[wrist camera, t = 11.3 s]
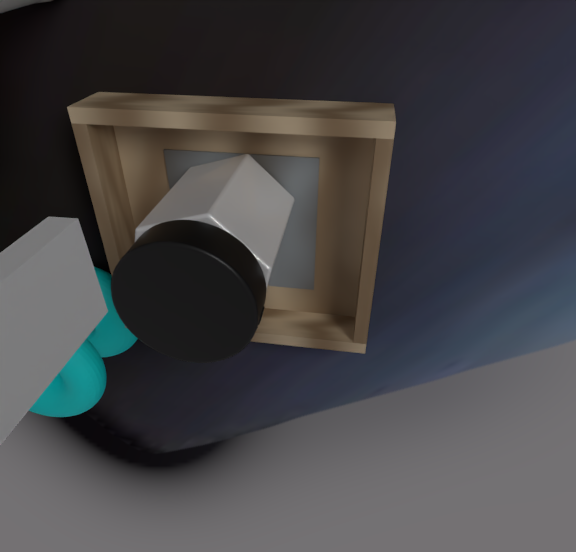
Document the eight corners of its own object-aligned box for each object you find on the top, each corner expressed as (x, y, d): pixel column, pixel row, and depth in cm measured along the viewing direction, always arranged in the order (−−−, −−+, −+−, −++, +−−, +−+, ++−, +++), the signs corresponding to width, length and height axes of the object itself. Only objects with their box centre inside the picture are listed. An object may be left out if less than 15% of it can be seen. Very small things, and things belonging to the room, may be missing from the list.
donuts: (-11, 309, 31) (116, 386, 34) (68, 236, 39) (166, 303, 42) (-48, 378, 36) (65, 440, 39) (30, 301, 44) (119, 357, 47)
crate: (393, 103, 29) (396, 121, 26) (365, 321, 39) (365, 353, 36) (98, 91, 32) (66, 106, 28) (144, 299, 42) (125, 327, 38)
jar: (203, 264, 37) (143, 371, 28) (162, 171, 33) (74, 258, 23) (309, 246, 35) (284, 357, 25) (278, 142, 31) (234, 228, 21)
